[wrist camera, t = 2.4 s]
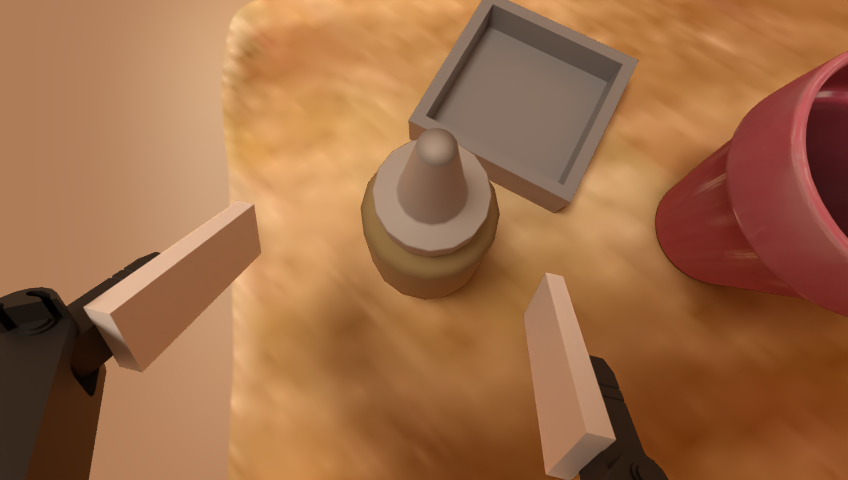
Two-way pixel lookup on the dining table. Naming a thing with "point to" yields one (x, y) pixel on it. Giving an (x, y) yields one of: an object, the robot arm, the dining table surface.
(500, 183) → the tray
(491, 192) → the squeeze bottle
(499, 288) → the dining table surface
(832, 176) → the plant pot
